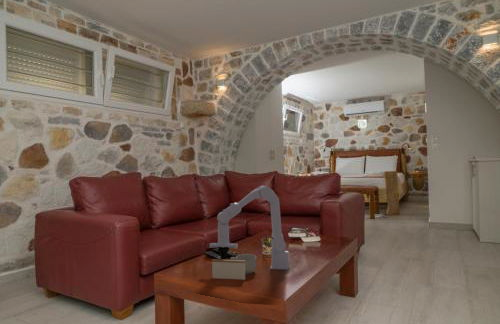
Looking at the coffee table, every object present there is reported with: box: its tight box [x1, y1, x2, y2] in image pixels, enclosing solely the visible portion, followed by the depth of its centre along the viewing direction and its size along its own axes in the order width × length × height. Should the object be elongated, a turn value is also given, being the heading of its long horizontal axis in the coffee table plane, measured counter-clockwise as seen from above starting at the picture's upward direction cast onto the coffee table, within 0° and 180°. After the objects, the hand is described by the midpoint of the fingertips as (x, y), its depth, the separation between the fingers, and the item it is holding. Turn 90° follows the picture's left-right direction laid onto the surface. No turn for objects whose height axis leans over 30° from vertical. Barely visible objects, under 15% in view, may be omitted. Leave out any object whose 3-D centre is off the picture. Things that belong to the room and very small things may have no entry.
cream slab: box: [211, 258, 246, 280], centre depth 160 cm, size 16×2×9 cm, turn 79°
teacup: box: [228, 253, 257, 275], centre depth 169 cm, size 14×11×8 cm
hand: (223, 261), depth 171 cm, fingers closed
